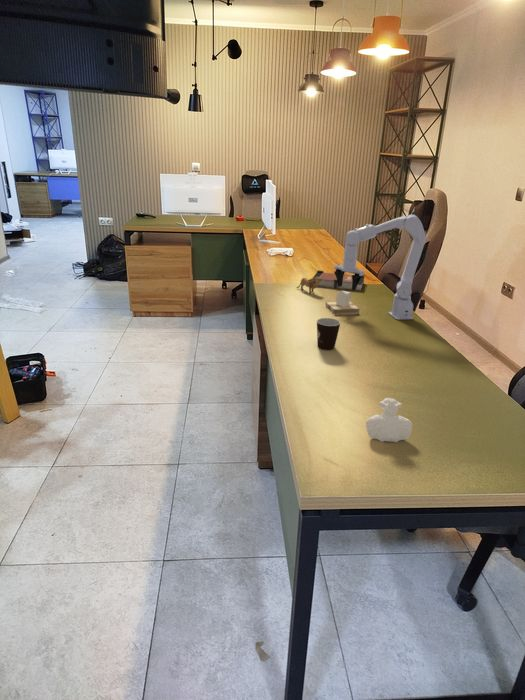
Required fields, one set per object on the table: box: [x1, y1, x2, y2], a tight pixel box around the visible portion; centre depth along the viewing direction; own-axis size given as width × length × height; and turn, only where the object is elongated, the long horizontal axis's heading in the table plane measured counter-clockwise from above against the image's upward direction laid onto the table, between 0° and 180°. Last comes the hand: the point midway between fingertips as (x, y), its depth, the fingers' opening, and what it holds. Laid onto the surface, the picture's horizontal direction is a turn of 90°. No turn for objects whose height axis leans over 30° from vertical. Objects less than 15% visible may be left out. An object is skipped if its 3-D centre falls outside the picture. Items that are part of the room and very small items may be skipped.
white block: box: [336, 290, 351, 307], centre depth 219 cm, size 4×4×6 cm
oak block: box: [324, 300, 361, 316], centre depth 220 cm, size 12×12×3 cm
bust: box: [365, 397, 413, 443], centre depth 124 cm, size 12×8×11 cm
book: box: [312, 269, 365, 292], centre depth 261 cm, size 26×18×5 cm
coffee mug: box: [316, 317, 341, 351], centre depth 179 cm, size 12×9×10 cm
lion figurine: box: [296, 276, 321, 294], centre depth 245 cm, size 15×5×9 cm, turn 48°
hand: (346, 288), depth 218 cm, fingers open, 7 cm apart
